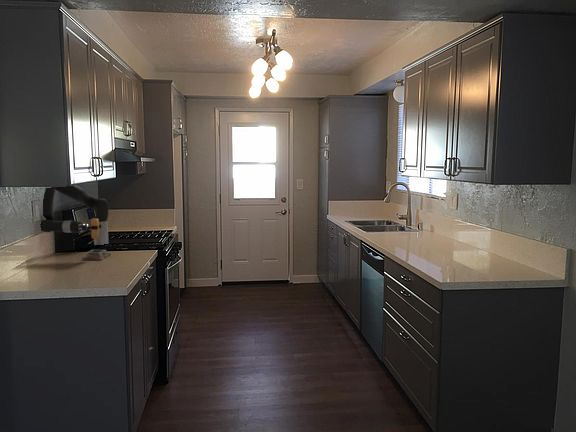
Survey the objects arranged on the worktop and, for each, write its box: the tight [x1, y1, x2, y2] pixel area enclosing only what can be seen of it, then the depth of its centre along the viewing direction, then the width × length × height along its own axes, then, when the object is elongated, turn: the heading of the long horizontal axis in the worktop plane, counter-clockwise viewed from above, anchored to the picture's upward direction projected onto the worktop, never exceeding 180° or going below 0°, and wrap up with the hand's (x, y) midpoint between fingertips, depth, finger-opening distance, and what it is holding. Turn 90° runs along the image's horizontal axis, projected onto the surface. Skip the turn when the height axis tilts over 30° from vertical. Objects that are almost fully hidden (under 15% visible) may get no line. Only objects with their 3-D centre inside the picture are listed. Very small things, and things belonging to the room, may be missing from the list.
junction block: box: [81, 249, 112, 261], centre depth 295 cm, size 15×12×4 cm
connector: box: [90, 218, 99, 240], centre depth 293 cm, size 4×4×12 cm
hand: (99, 227), depth 292 cm, fingers closed on connector, 4 cm apart
